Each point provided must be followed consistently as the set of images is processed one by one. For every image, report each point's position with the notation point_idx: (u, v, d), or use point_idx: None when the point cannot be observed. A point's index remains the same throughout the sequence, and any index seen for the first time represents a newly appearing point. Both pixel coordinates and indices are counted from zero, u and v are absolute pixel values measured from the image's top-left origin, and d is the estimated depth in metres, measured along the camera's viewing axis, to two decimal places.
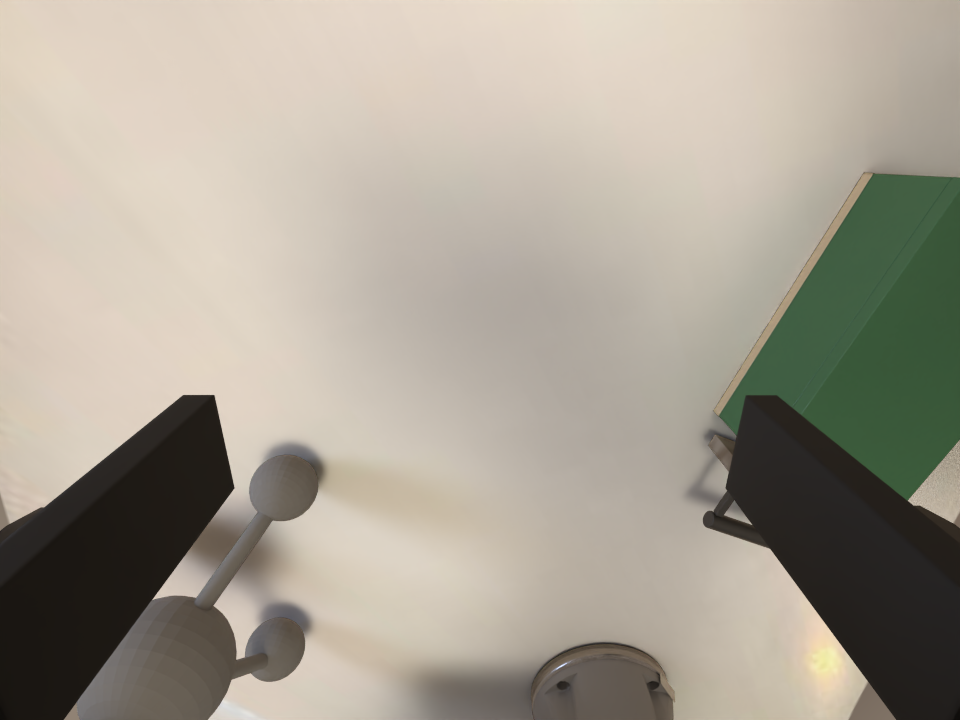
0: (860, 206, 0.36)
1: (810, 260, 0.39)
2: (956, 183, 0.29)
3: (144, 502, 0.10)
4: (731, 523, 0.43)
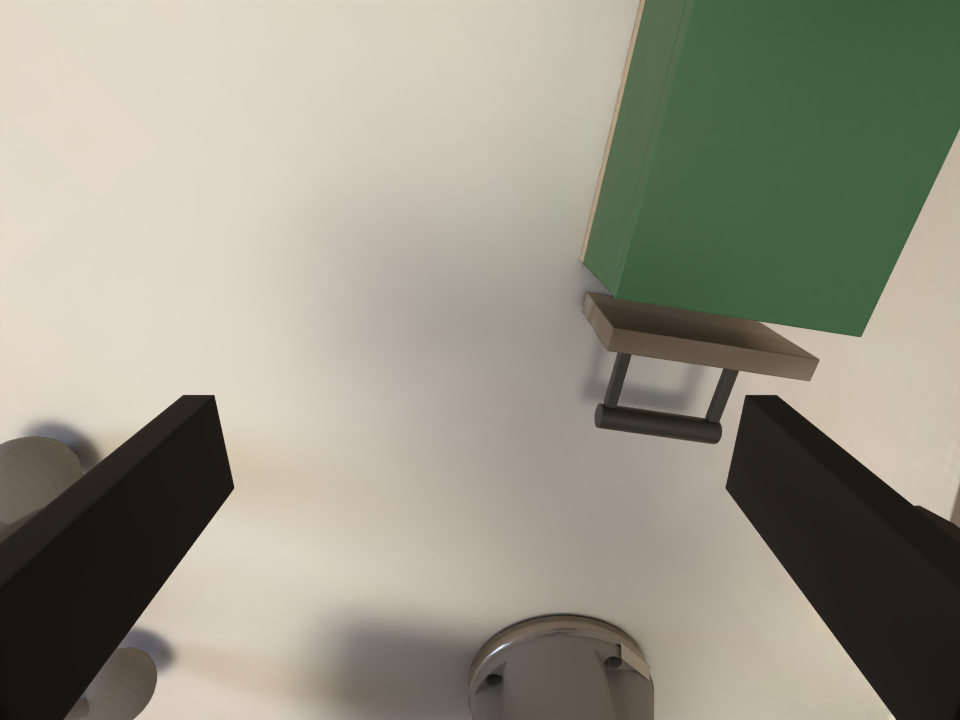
0: None
1: None
2: None
3: (144, 502, 0.10)
4: (632, 414, 0.29)
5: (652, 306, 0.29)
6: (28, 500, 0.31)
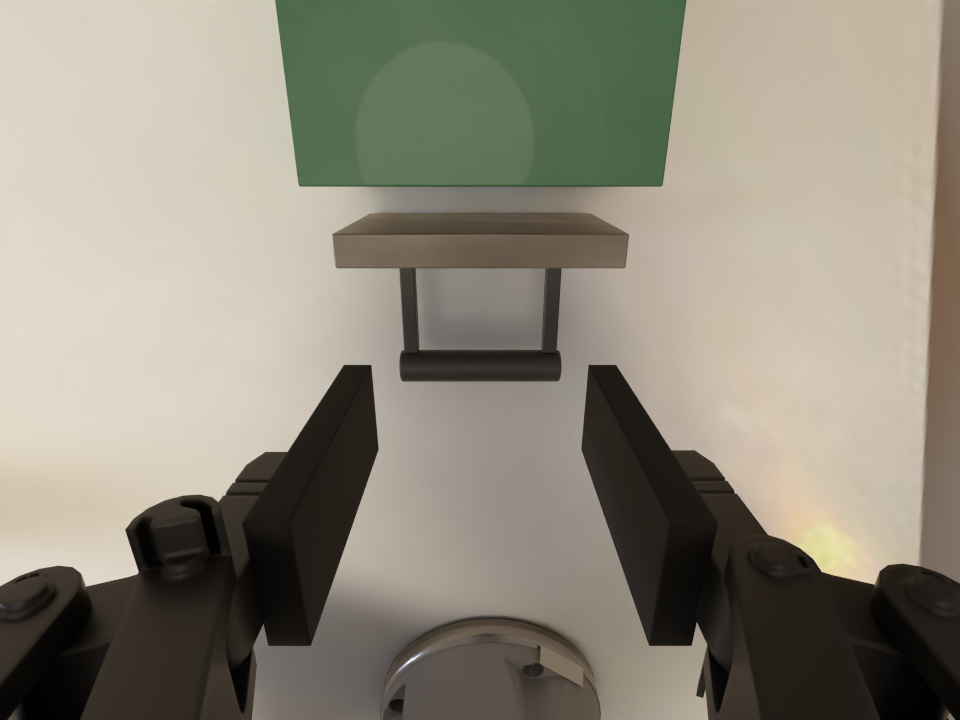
0: None
1: None
2: None
3: (346, 449, 0.11)
4: (439, 357, 0.22)
5: (447, 216, 0.23)
6: None
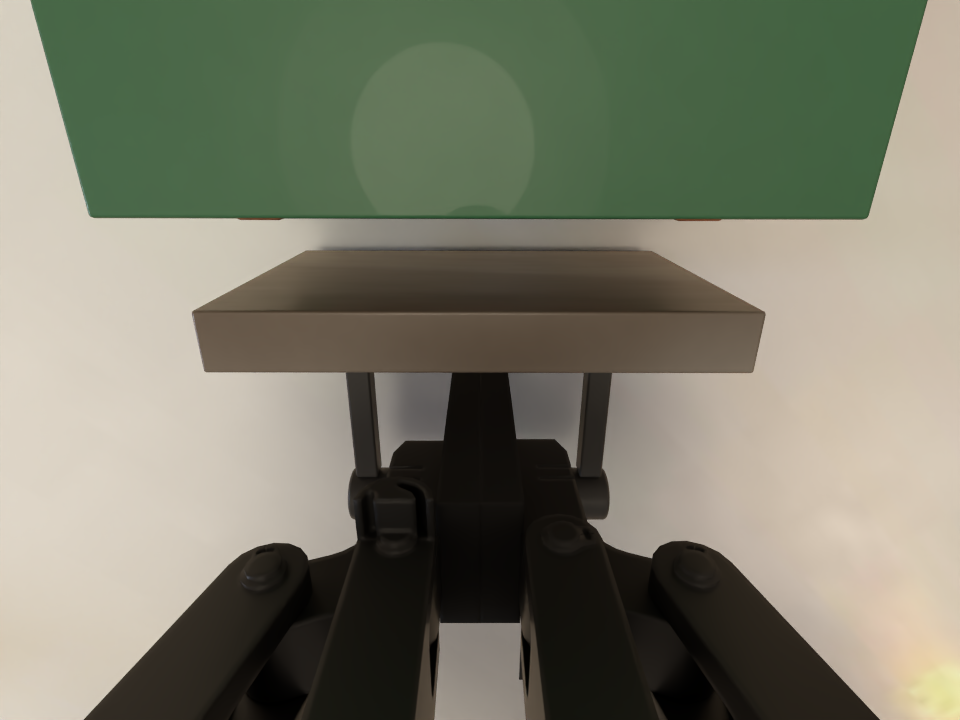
0: None
1: None
2: None
3: None
4: None
5: (426, 256, 0.14)
6: None
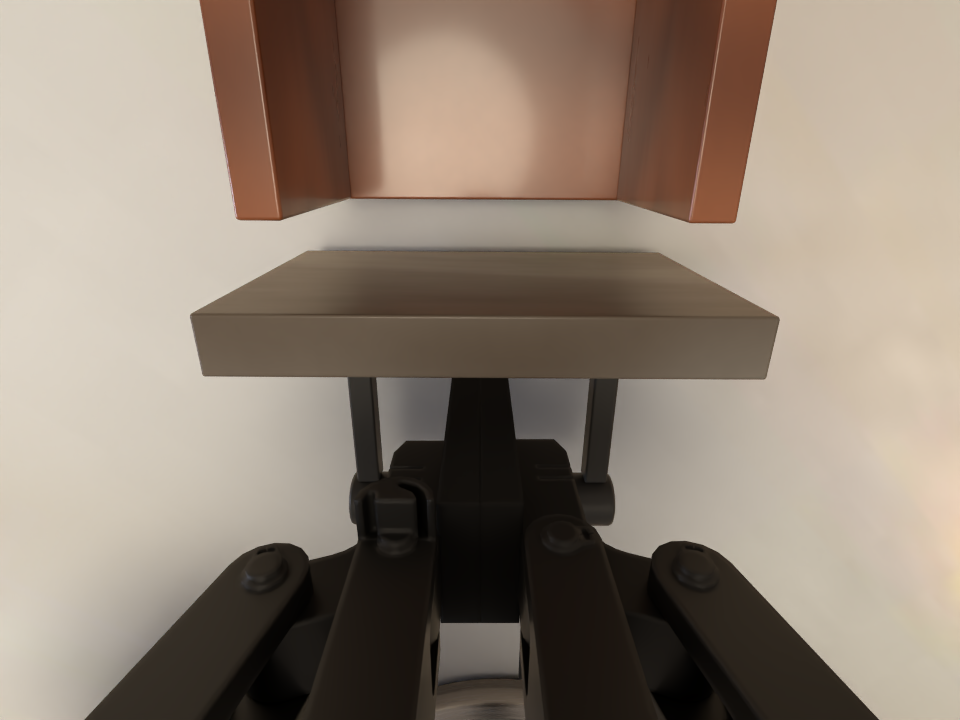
0: None
1: None
2: None
3: None
4: None
5: (430, 257, 0.14)
6: None
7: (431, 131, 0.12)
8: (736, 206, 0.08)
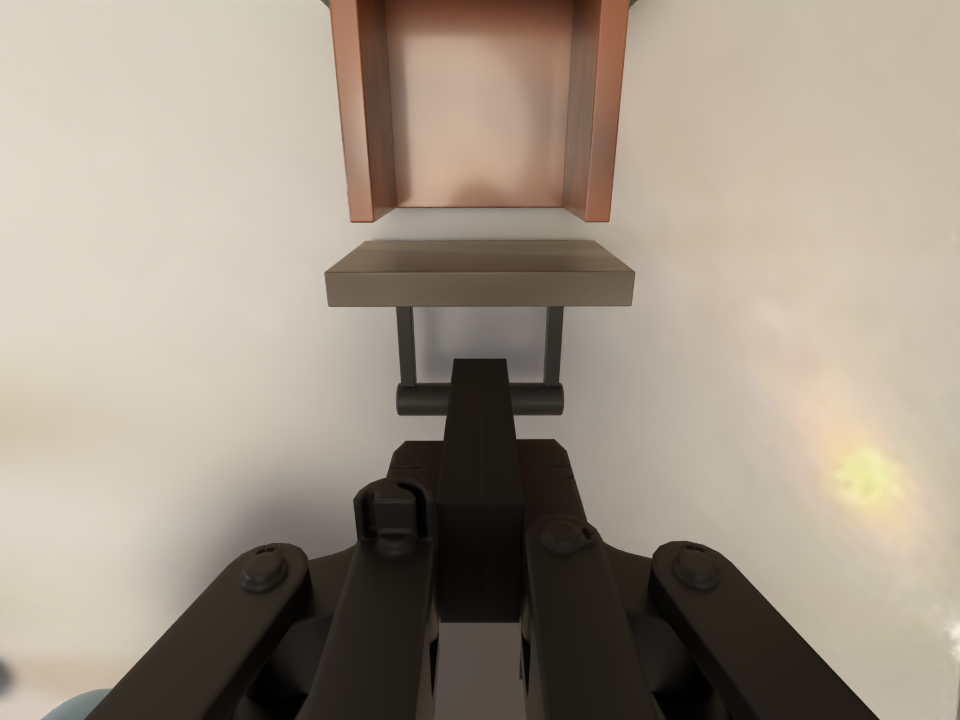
0: None
1: None
2: None
3: None
4: (437, 391, 0.21)
5: (445, 244, 0.22)
6: None
7: (447, 166, 0.20)
8: (608, 213, 0.16)
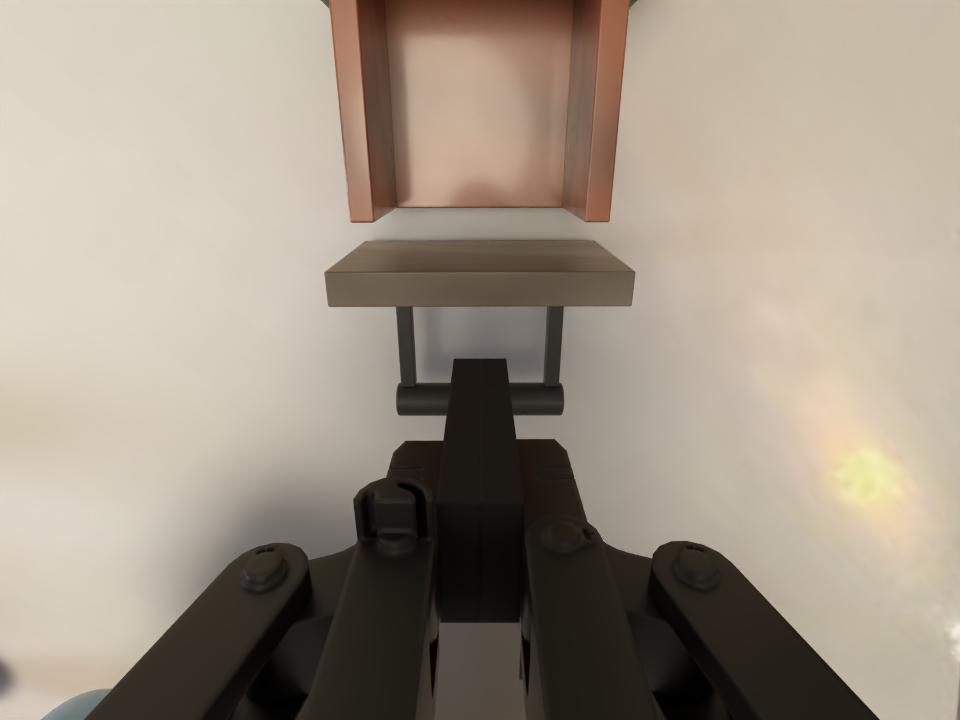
0: None
1: None
2: None
3: None
4: (437, 391, 0.21)
5: (445, 244, 0.22)
6: None
7: (447, 166, 0.20)
8: (608, 213, 0.16)
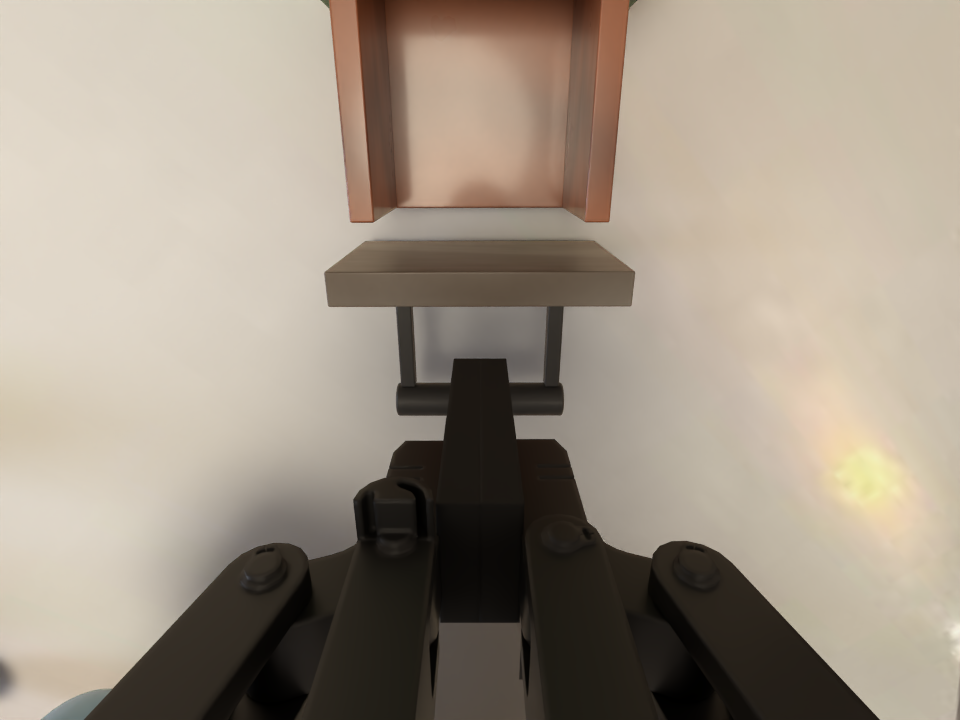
0: None
1: None
2: None
3: None
4: (437, 391, 0.21)
5: (445, 244, 0.22)
6: None
7: (447, 166, 0.20)
8: (608, 213, 0.16)
